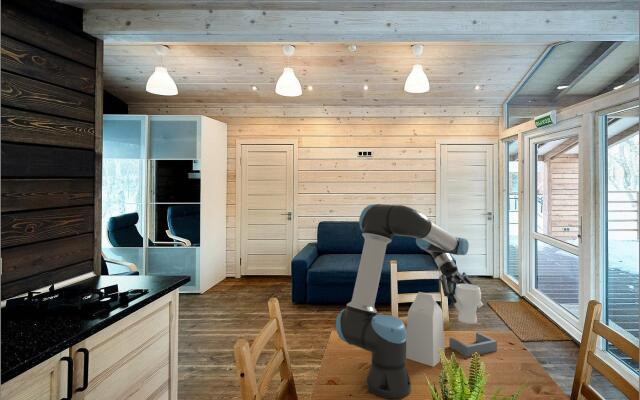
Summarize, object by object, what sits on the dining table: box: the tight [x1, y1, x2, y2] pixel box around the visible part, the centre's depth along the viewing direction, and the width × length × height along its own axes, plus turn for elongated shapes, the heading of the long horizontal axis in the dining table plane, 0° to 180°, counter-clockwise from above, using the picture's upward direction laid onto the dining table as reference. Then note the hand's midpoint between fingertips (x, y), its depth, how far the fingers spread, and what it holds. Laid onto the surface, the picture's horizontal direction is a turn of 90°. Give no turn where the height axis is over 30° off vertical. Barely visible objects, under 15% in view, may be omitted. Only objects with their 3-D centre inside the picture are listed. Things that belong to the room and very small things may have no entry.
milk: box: [406, 291, 445, 367], centre depth 147 cm, size 12×12×26 cm
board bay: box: [448, 331, 498, 358], centre depth 155 cm, size 16×10×4 cm, turn 111°
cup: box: [454, 283, 482, 325], centre depth 158 cm, size 11×11×15 cm
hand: (471, 308), depth 156 cm, fingers closed on cup, 10 cm apart
